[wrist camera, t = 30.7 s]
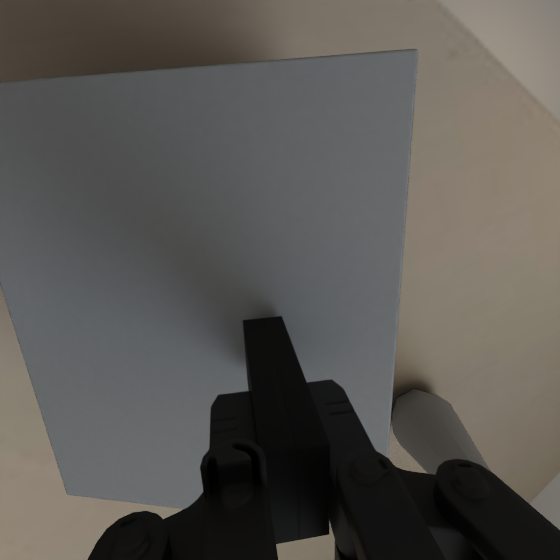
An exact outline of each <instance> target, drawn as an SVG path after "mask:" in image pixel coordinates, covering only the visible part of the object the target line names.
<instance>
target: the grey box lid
mask: <svg viewBox="0 0 560 560" xmlns="http://www.w3.org/2000/svg"><path fill="white" fill-rule="evenodd" d="M417 61H418V50H417V49H406V50H393V51H381V52H369V53H356V54H344V55H331V56H319V57H306V58H294V59H281V60H269V61H256V62H244V63H231V64H219V65H207V66H194V67H182V68H169V69H157V70H144V71H132V72H119V73H107V74H94V75H82V76H69V77H57V78H44V79H32V80H20V81H7V82H0V284H1V287H2V291H3V294H4V297H5V300H6V303H7V306H8V310H9V313H10V316H11V319H12V322H13V325H14V329H15V332H16V335H17V338H18V341H19V344H20V347H21V351H22V354H23V357H24V360H25V363H26V366H27V370H28V373H29V376H30V379H31V382H32V385H33V389H34V392H35V395H36V398H37V401H38V404H39V407H40V411H41V414H42V417H43V420H44V423H45V426H46V430H47V433H48V436H49V439H50V442H51V445H52V449H53V452H54V455H55V458H56V461H57V464H58V468H59V471H60V474H61V477H62V480H63V483H64V486H65V490H66V493H67V494H68V495H74V496H82V497H90V498H99V499H107V500H115V501H123V502H131V503H140V504H148V505H156V506H164V507H173V508H181V509H185V508H187V507H189V506H190V505H191V504H192V503H194V502H195V501H196V500H197V499H198V498H199V497H200V495H201V494H202V493H203V485H202V478H201V471H200V465H201V462H202V458H203V456H204V455H205V454H206V453H207V451H208V450H209V443H210V411H211V405H212V404H213V402H214V401H215V399H216V397H217V396H218V395H220V394H228V393H236V392H244V391H249V390H248V382H247V370H246V357H245V345H244V332H243V320H249V319H258V318H268V317H278V316H282V318H283V321H284V323H285V326H286V329H287V331H288V334H289V337H290V339H291V342H292V345H293V347H294V350H295V353H296V355H297V358H298V361H299V363H300V366H301V369H302V371H303V374H304V377H305V379H306V382H314V381H322V380H330V379H332V380H333V381H335V382H336V383H337V384H338V385H340V386H341V387H342V388H343V389H344V390H345V392H346V394H347V396H348V398H349V400H350V402H351V404H352V406H353V408H354V410H355V412H356V414H357V416H358V417H359V419H360V421H361V423H362V425H363V427H364V429H365V431H366V433H367V435H368V437H369V439H370V441H371V443H372V444H373V446H374V448H375V450H376V451H377V452H379V453H381V454H382V455H384V456H386V457H387V458H388V449H389V436H390V422H391V409H392V396H393V382H394V369H395V355H396V342H397V329H398V315H399V302H400V289H401V275H402V262H403V248H404V235H405V222H406V208H407V195H408V182H409V168H410V155H411V141H412V128H413V115H414V101H415V88H416V74H417ZM329 527H331V524H330V521H329Z"/></svg>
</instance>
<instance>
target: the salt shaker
mask: <svg viewBox="0 0 560 560" xmlns="http://www.w3.org/2000/svg"><path fill="white" fill-rule="evenodd" d="M392 422H393V432H394V435H395V437H396V438H397V440H398V442H399V443H400V445H401V446H402V447H403V448H404V449H405V450H406V451H407V452H408V453H409V454H410V455H411V456H412V457H413V458H414V459H415V460H416V461H417V462H418V463H419V464H420V465H421V466H422V468H423V469H424V470H425V471H426V472H427V473H428V474H434V475H435V474H436V471H437V468H438V466H439V465H440V464H442V463H443V462H444V461H447V460H451V459H463V460H469V461H472V462H474V463H477V464H480V465H482V466H483V467H485V468H486V469H488V470H489V471H490V469H489V468H488V466H487V464H486V463H485V461H484V459H483V458H482V456H481V454H480V453H479V451H478V449H477V448H476V446H475V444H474V443H473V441H472V439H471V438H470V436H469V434H468V433H467V431H466V429H465V427H464V426H463V424H462V422H461V421H460V419H459V417H458V416H457V414H456V412H455V411H454V409H453V407H452V406H451V404H450V403H449V402H447V401H446V400H444V399H442V398H441V397H439V396H437V395H434V394H430V393H427V392H423V391H420V390H416V389H413V390H411V391H409V392H407V393H405V394H404V395H402V396H400V397H398V398H397V400H396V403H395V406H394V410H393V413H392Z"/></svg>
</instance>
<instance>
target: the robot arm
mask: <svg viewBox="0 0 560 560" xmlns="http://www.w3.org/2000/svg"><path fill="white" fill-rule="evenodd" d="M243 332H244V345H245V357H246V370H247V382H248V390H249V391H244V392H236V393H228V394H220V395H218V396H217V397H216V399H215V401H214V402H213V404H212V405H211V411H210V443H209V450H208V451H207V453H206V454H205V455H204V456H203V458H202V462H201V465H200V471H201V478H202V485H203V493H202V494H201V495H200V497H199V498H198V499H197V500H196V501H195V502H194V503H192V504H191V505H190V506H189V507H187V508H185V509H184V510H182V511H180V512H178V513H176V514H174V515H172V516H170V517H167V518H165V519H162V518H161V517H160V516H159V515H158V514H156V513H152V512H148V511H142V512H134V513H131V514H129V515H127V516H125V517H122V518H120V519H118V520H117V521H116V522H115V523H114V524H112V525H111V526H110V527H109V528H107V529H106V531H105V532H104V533H103V535H102V536H101V537H100V539H99V540H98V541H97V543H96V545H95V547H94V549H93V551H92V552H91V554H90V556H89V558H88V560H278V556H277V549H276V544H279V543H284V542H289V541H295V540H301V539H306V538H312V537H317V536H323V535H328V534H329V521H330V524H331V527H332V531H333V534H334V538H335V560H560V530H559V529H558V528H557V527H555V526H554V525H553V524H552V523H551V522H550V521H548V520H547V519H546V518H545V517H544V516H543V515H541V514H540V513H539V512H538V511H537V510H536V509H534V508H533V507H532V506H531V505H530V504H528V503H527V502H526V501H525V500H524V499H523V498H521V497H520V496H519V495H518V494H517V493H516V492H514V491H513V490H512V489H511V488H510V487H509V486H507V485H506V484H505V483H504V482H503V481H502V480H500V479H499V478H498V477H497V476H496V475H495V474H493V473H492V472H491V471H489V470H488V469H486V468H485V467H483V466H482V465H480V464H477V463H474V462H472V461H469V460H463V459H451V460H447V461H444V462H443V463H442V464H440V465H439V466H438V468H437V471H436V474H435V475H434V474H426V473H418V472H411V471H406V470H402V469H400V468H397V467H395V466H394V465H393V464H392V462H391V461H390V460H389V459H388V458H387V457H386V456H384V455H382V454H381V453H379V452H377V451H376V450H375V448H374V446H373V444H372V443H371V441H370V439H369V437H368V435H367V433H366V431H365V429H364V427H363V425H362V423H361V421H360V419H359V417H358V416H357V414H356V412H355V410H354V408H353V406H352V404H351V402H350V400H349V398H348V396H347V394H346V392H345V390H344V389H343V388H342V387H341V386H340V385H338V384H337V383H336V382H335V381H333V380H332V379H330V380H322V381H314V382H306V379H305V377H304V374H303V371H302V369H301V366H300V363H299V361H298V358H297V355H296V353H295V350H294V347H293V345H292V342H291V339H290V337H289V334H288V331H287V329H286V326H285V323H284V321H283V318H282V316H278V317H268V318H258V319H249V320H243Z"/></svg>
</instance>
